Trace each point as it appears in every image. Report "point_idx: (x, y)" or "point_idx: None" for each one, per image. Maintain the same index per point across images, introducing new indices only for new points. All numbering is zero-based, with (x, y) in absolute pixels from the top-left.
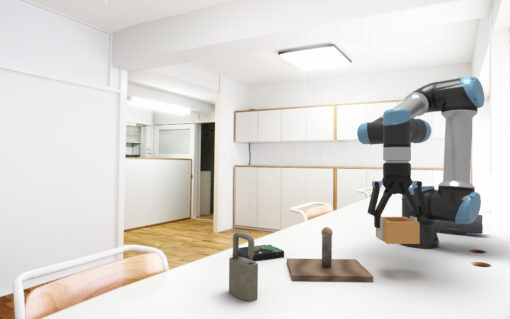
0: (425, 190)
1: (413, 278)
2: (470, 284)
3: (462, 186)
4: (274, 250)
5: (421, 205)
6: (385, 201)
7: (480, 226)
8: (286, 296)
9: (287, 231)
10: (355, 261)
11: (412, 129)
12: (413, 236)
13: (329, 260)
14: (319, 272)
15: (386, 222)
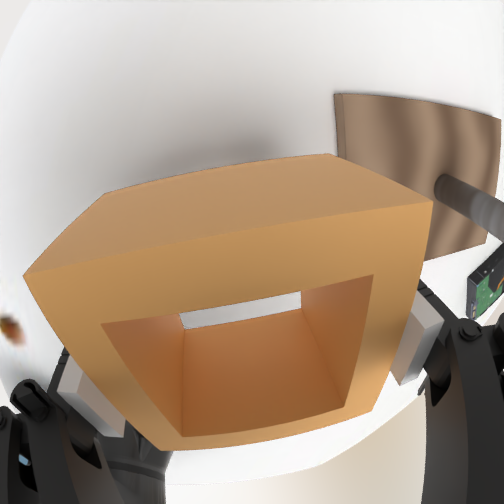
0: None
1: (173, 157)
2: (23, 156)
3: None
4: (485, 285)
5: (3, 487)
6: (489, 490)
7: None
8: (493, 43)
9: (380, 423)
10: None
11: None
12: (129, 197)
13: (456, 182)
14: (465, 135)
15: (425, 225)
